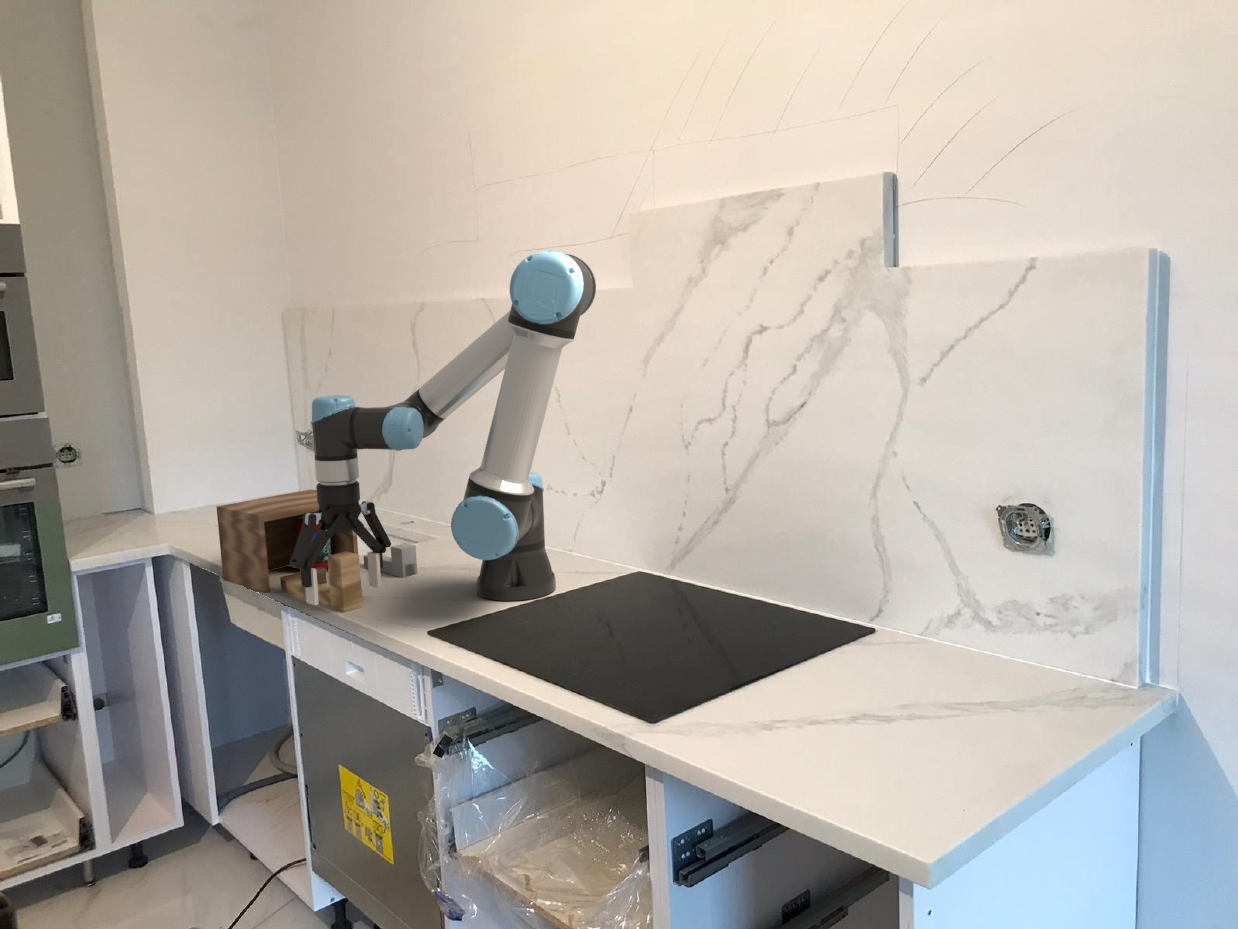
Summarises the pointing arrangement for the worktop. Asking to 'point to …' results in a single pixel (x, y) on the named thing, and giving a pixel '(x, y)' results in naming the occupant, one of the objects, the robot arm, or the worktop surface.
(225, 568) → the shelf
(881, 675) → the worktop surface
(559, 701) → the worktop surface
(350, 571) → the crook tool
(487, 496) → the robot arm
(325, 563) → the beverage can
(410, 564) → the grey hooked tool
